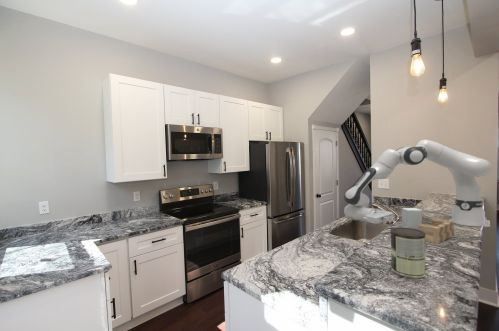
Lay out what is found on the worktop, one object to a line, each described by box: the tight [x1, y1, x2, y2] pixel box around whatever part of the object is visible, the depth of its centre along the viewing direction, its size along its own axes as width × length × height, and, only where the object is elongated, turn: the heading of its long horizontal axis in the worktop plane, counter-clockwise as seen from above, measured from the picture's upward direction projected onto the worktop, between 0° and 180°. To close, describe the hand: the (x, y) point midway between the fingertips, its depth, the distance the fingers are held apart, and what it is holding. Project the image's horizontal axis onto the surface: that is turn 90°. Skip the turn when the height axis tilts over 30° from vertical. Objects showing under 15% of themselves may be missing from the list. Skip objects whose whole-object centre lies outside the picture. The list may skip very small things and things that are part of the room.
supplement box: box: [401, 207, 423, 230], centre depth 133 cm, size 7×7×13 cm
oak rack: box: [418, 218, 455, 245], centre depth 124 cm, size 21×8×7 cm, turn 126°
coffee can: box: [390, 227, 427, 279], centre depth 87 cm, size 10×10×14 cm
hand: (394, 219), depth 141 cm, fingers closed
